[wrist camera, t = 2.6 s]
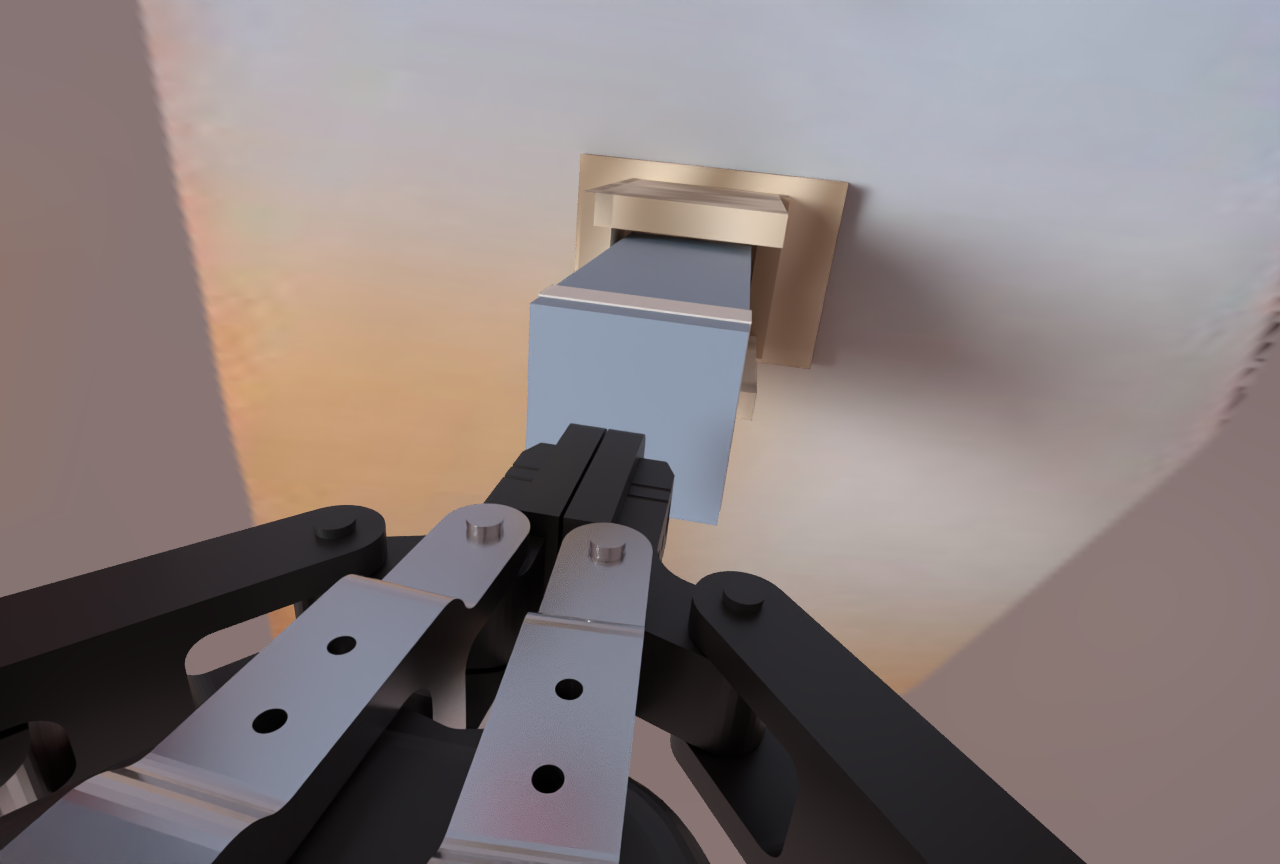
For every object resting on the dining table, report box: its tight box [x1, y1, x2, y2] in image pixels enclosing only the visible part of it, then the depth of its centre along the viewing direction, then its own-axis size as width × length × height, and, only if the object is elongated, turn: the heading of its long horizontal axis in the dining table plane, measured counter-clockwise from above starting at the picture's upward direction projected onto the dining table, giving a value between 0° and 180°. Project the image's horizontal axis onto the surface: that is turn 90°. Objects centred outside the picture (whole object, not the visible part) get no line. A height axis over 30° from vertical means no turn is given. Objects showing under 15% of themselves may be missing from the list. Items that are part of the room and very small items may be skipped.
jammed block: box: [526, 232, 752, 526], centre depth 22 cm, size 5×5×14 cm
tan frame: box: [574, 154, 848, 421], centre depth 32 cm, size 14×10×13 cm
